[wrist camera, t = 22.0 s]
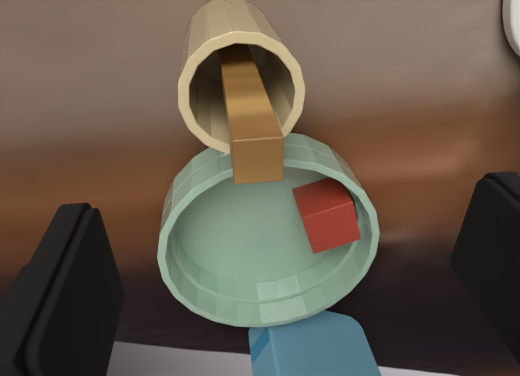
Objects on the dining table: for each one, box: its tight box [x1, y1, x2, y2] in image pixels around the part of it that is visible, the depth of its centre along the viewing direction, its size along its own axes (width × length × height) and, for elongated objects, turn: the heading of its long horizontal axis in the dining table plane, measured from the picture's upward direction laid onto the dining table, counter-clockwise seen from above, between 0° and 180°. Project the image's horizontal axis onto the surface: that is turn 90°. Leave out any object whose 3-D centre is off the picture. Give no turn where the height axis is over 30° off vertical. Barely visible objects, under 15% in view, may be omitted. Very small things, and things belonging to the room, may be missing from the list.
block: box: [292, 177, 361, 254], centre depth 32 cm, size 4×4×4 cm
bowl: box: [157, 133, 380, 328], centre depth 33 cm, size 17×17×5 cm
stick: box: [218, 43, 284, 184], centre depth 19 cm, size 2×2×16 cm
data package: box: [249, 310, 381, 376], centre depth 38 cm, size 12×4×12 cm, turn 64°
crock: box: [178, 0, 306, 154], centre depth 22 cm, size 6×6×10 cm
